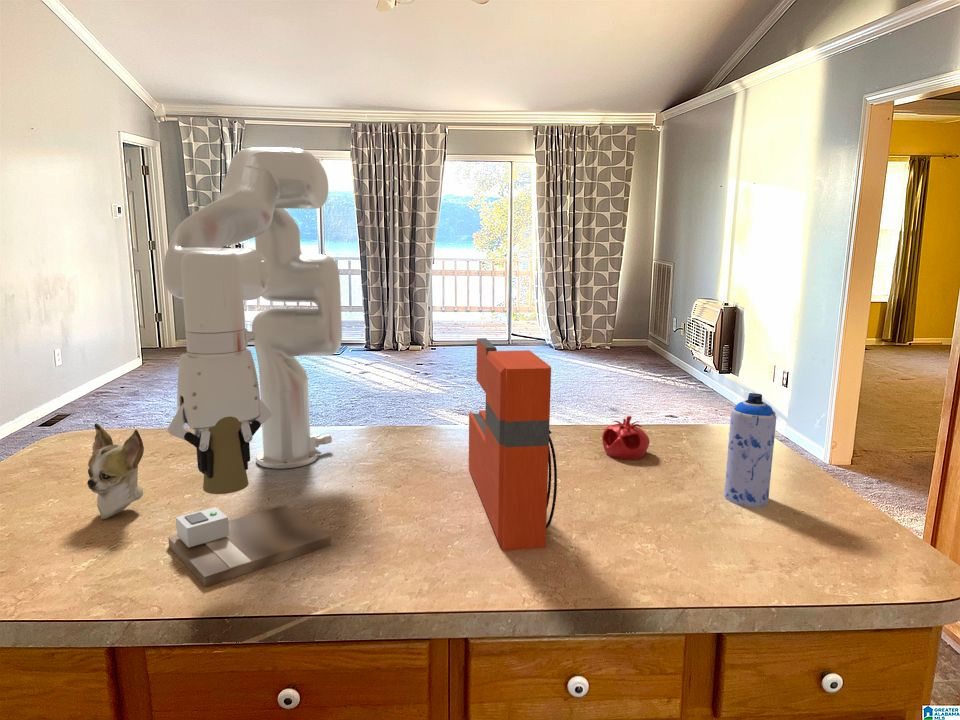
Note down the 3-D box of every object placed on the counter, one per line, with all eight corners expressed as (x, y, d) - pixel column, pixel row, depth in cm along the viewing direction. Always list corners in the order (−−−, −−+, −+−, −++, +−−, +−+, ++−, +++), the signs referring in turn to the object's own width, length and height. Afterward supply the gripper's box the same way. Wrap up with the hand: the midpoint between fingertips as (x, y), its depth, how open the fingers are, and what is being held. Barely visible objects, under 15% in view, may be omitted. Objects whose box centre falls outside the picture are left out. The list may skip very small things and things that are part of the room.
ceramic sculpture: (70, 518, 111) (60, 432, 108) (115, 499, 119) (107, 418, 116) (117, 529, 107) (108, 440, 104) (160, 509, 115) (153, 425, 112)
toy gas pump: (510, 468, 136) (513, 332, 131) (560, 547, 103) (566, 367, 97) (465, 471, 135) (466, 332, 129) (500, 552, 101) (503, 369, 96)
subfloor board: (285, 512, 114) (285, 504, 114) (330, 544, 102) (330, 535, 102) (169, 546, 101) (168, 536, 101) (205, 587, 90) (204, 576, 90)
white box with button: (217, 524, 105) (215, 505, 104) (229, 535, 101) (228, 515, 100) (177, 535, 101) (175, 516, 100) (188, 547, 97) (186, 527, 96)
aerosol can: (769, 497, 123) (780, 392, 119) (768, 512, 116) (779, 401, 112) (724, 489, 126) (733, 387, 122) (720, 504, 119) (729, 396, 115)
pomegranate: (613, 446, 151) (615, 407, 149) (655, 455, 145) (658, 414, 144) (593, 458, 143) (595, 416, 141) (637, 468, 138) (640, 424, 136)
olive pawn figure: (257, 481, 96) (253, 407, 93) (229, 496, 90) (224, 418, 88) (223, 476, 97) (218, 403, 95) (193, 490, 92) (187, 413, 90)
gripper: (264, 334, 98) (270, 452, 102) (141, 345, 87) (153, 478, 91) (287, 340, 93) (292, 465, 96) (159, 353, 82) (170, 494, 85)
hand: (224, 470), depth 93 cm, fingers closed on olive pawn figure, 4 cm apart
